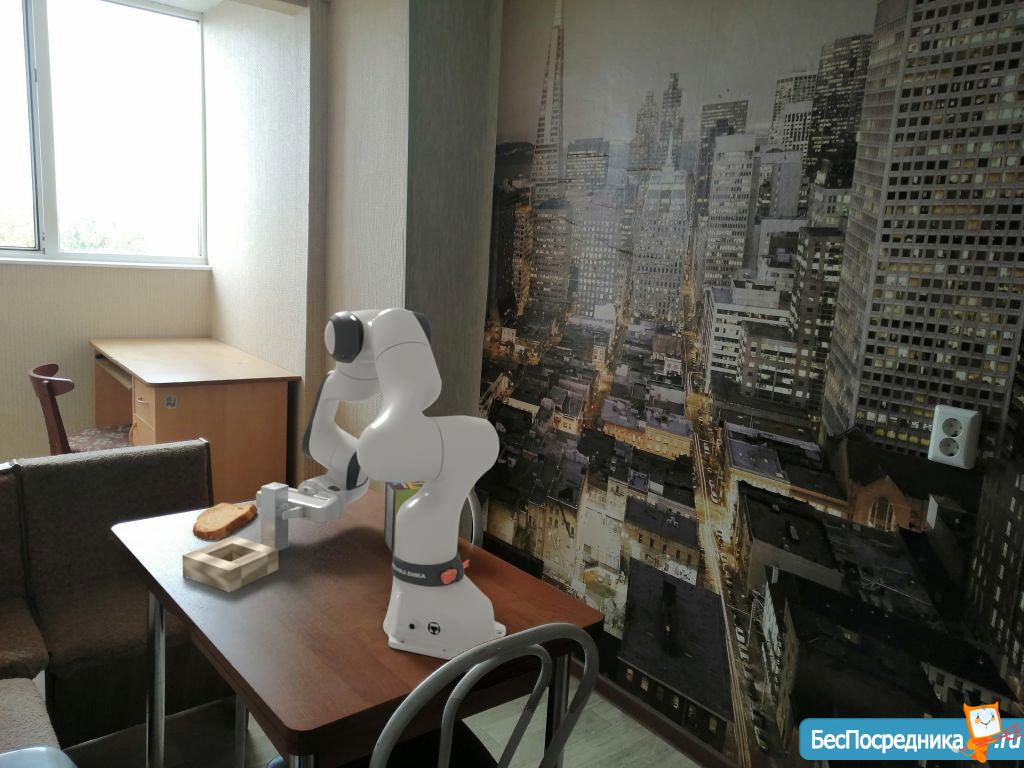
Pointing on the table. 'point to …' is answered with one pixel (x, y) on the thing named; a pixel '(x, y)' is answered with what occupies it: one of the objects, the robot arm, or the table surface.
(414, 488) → the protein box
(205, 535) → the bread slice
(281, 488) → the steel post
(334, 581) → the table surface
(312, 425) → the robot arm
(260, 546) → the well block
